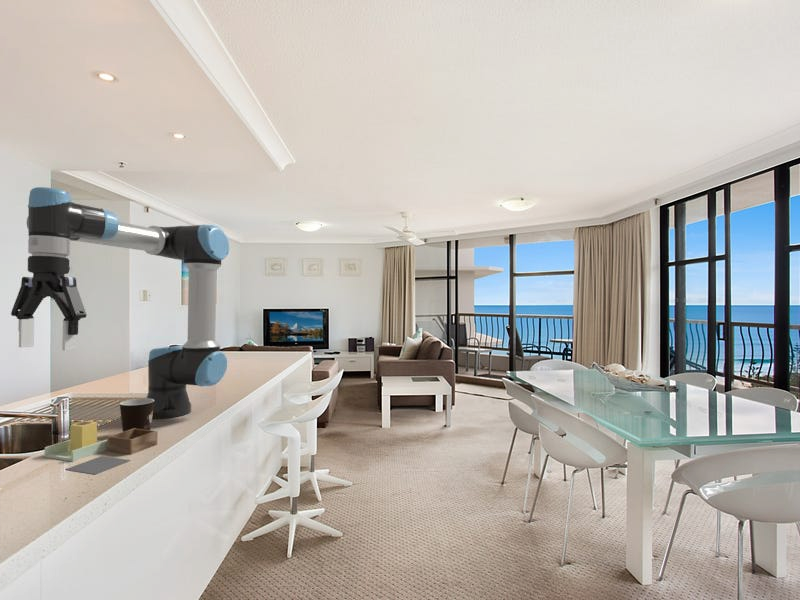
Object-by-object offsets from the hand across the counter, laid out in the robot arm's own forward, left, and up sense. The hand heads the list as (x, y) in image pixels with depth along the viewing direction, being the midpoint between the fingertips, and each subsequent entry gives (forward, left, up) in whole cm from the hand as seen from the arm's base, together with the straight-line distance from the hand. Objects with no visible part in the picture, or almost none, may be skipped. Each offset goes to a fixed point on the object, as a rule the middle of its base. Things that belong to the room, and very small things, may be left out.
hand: (47, 348), depth 101 cm
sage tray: (-11, -3, -28) cm, 30 cm away
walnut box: (-17, +7, -28) cm, 34 cm away
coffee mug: (-27, -1, -28) cm, 39 cm away
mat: (-5, +10, -28) cm, 30 cm away
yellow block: (-11, -3, -28) cm, 30 cm away
